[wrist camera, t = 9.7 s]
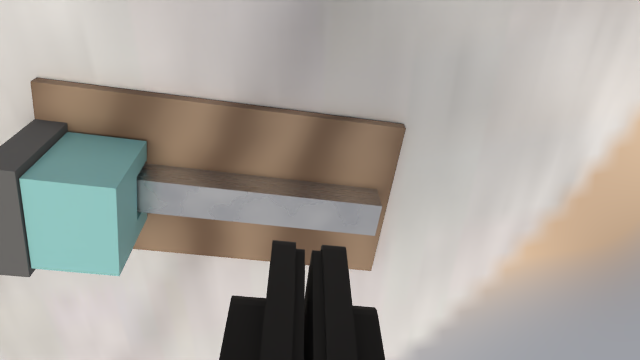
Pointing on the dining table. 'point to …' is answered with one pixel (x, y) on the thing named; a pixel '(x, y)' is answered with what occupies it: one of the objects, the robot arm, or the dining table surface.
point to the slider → (84, 204)
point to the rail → (257, 199)
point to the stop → (5, 193)
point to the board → (234, 159)
